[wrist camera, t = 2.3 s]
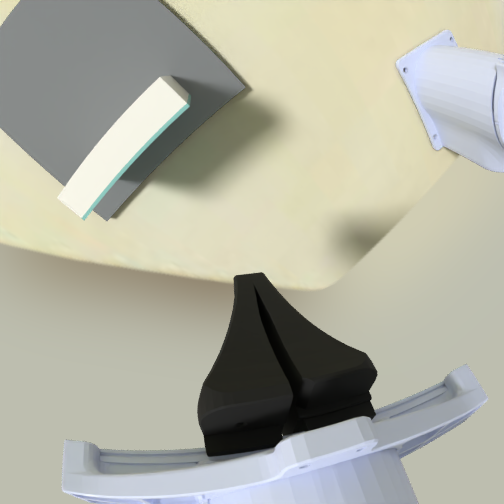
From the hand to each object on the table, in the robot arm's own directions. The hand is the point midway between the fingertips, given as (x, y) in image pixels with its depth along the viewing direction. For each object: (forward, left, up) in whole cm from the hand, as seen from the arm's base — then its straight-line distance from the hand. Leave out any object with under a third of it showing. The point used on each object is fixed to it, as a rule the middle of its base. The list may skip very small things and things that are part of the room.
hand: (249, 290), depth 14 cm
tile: (+8, 0, -10) cm, 13 cm away
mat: (+14, 0, -11) cm, 18 cm away
